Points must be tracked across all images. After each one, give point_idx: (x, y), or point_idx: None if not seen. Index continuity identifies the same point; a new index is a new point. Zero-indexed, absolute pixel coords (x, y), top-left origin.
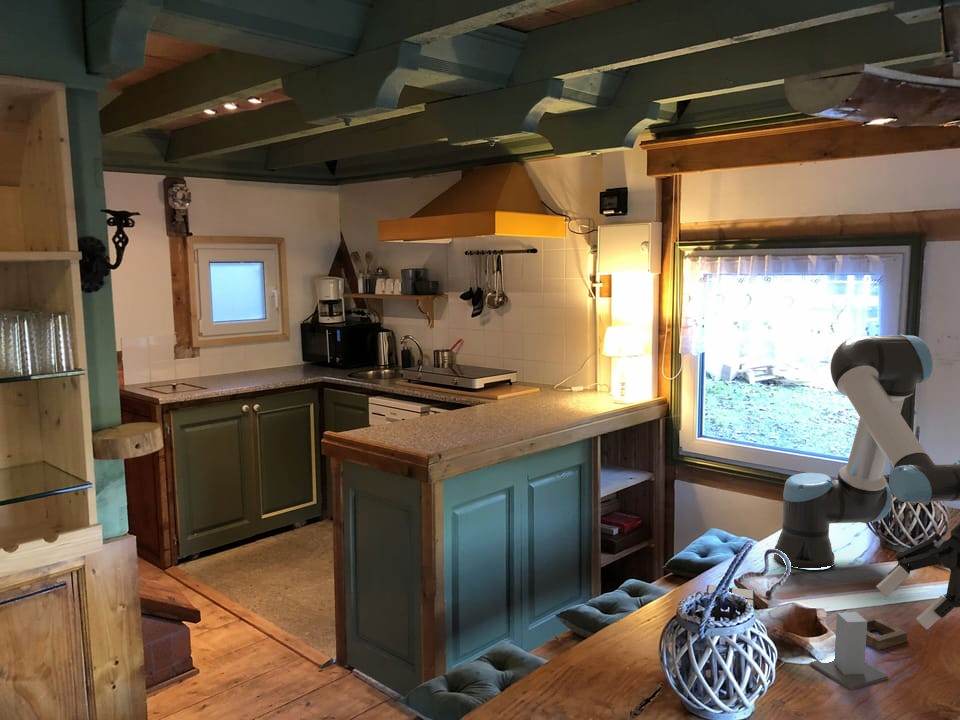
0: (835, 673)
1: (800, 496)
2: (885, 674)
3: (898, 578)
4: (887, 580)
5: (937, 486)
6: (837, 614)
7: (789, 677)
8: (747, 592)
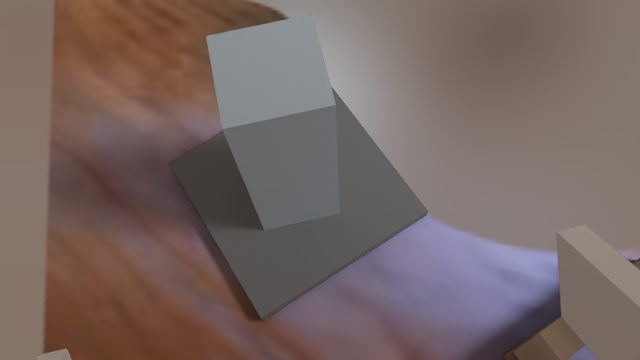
0: None
1: None
2: (269, 310)
3: None
4: (609, 287)
5: None
6: (306, 19)
7: (235, 13)
8: None
